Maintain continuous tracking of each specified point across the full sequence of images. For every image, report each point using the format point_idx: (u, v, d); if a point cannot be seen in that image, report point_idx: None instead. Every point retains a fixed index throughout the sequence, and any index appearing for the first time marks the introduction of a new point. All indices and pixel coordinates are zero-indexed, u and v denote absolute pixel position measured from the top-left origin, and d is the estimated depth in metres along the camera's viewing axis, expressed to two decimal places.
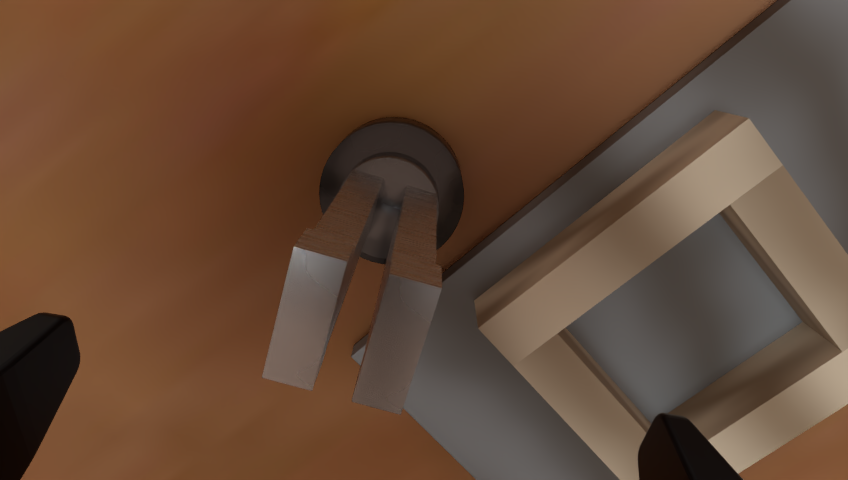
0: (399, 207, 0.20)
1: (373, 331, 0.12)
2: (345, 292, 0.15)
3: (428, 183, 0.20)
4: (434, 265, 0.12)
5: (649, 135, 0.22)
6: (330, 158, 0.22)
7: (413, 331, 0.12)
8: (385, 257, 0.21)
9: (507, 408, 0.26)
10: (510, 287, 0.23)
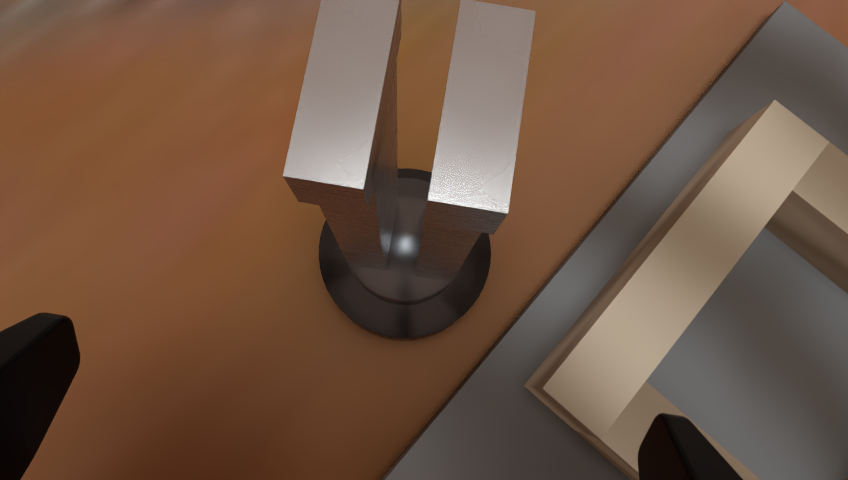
0: (420, 232, 0.17)
1: (448, 84, 0.08)
2: (381, 205, 0.11)
3: None
4: None
5: (673, 162, 0.21)
6: None
7: (506, 76, 0.08)
8: (410, 298, 0.16)
9: None
10: (568, 342, 0.18)
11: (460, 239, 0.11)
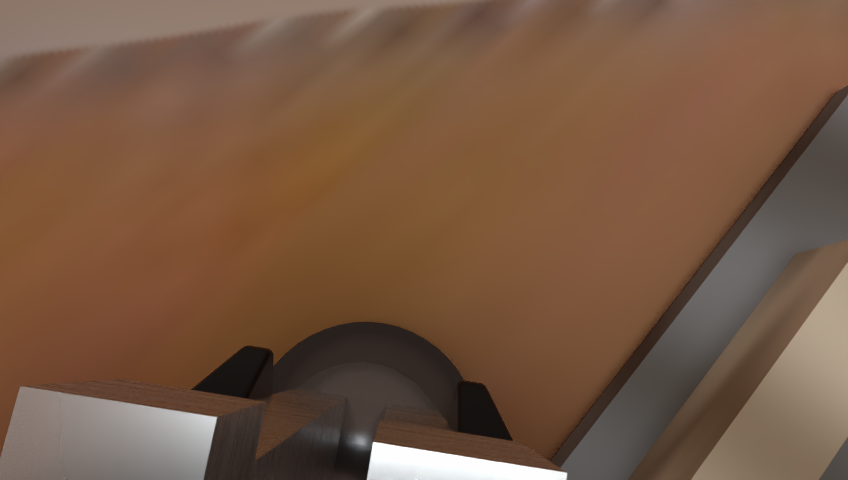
0: None
1: None
2: None
3: (422, 394, 0.12)
4: (503, 440, 0.04)
5: (721, 299, 0.16)
6: None
7: None
8: None
9: None
10: None
11: None
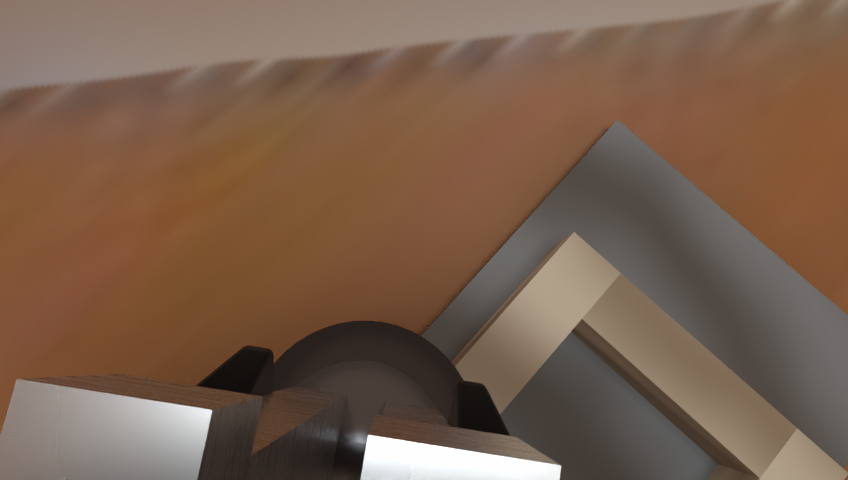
0: None
1: None
2: None
3: (420, 393, 0.12)
4: (497, 435, 0.04)
5: (498, 275, 0.22)
6: None
7: None
8: None
9: None
10: None
11: None
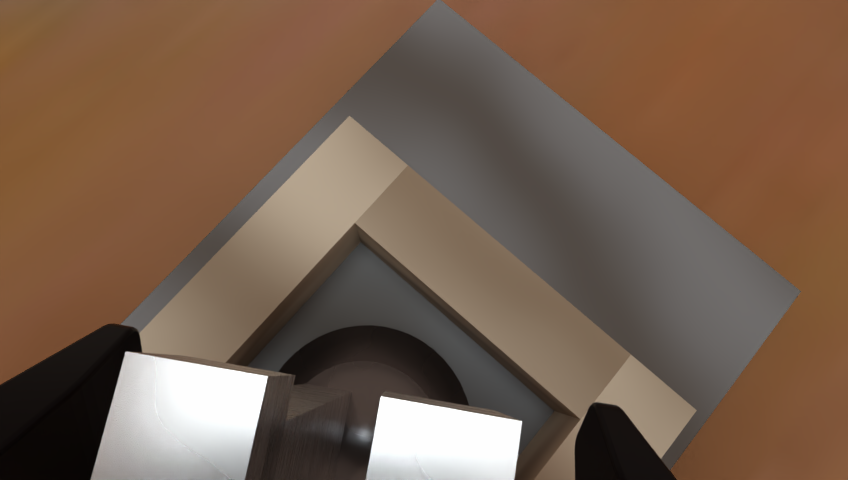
0: None
1: None
2: None
3: (419, 391, 0.13)
4: (481, 408, 0.05)
5: None
6: None
7: None
8: None
9: None
10: None
11: None
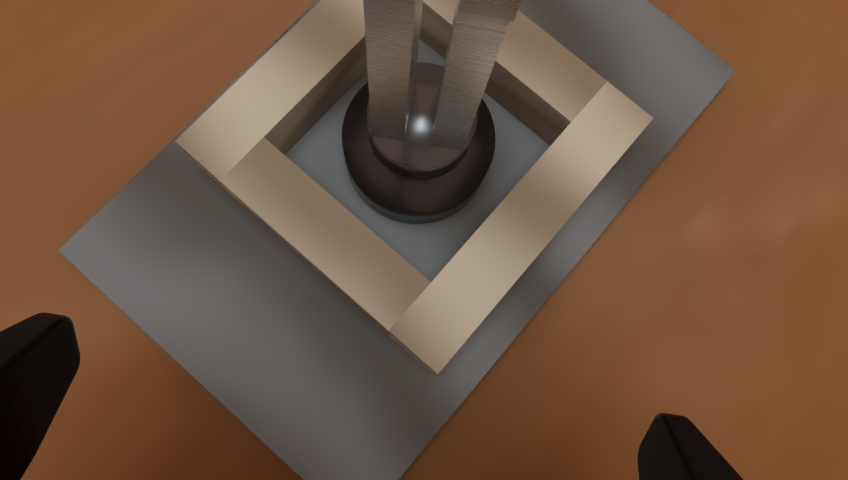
0: (435, 108, 0.19)
1: None
2: (414, 32, 0.13)
3: None
4: None
5: None
6: (351, 103, 0.21)
7: None
8: (426, 165, 0.19)
9: (251, 294, 0.21)
10: None
11: (480, 65, 0.13)
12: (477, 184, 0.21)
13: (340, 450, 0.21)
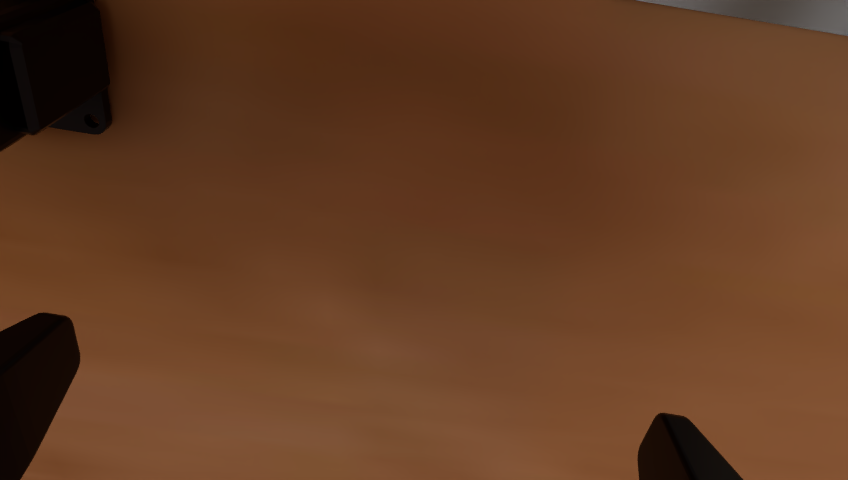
0: None
1: None
2: None
3: None
4: None
5: None
6: None
7: None
8: None
9: None
10: None
11: None
12: None
13: None
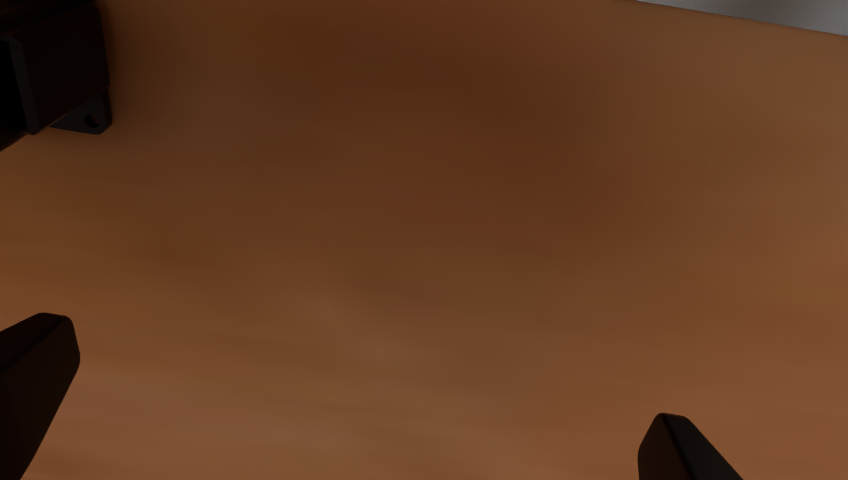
0: None
1: None
2: None
3: None
4: None
5: None
6: None
7: None
8: None
9: None
10: None
11: None
12: None
13: None
